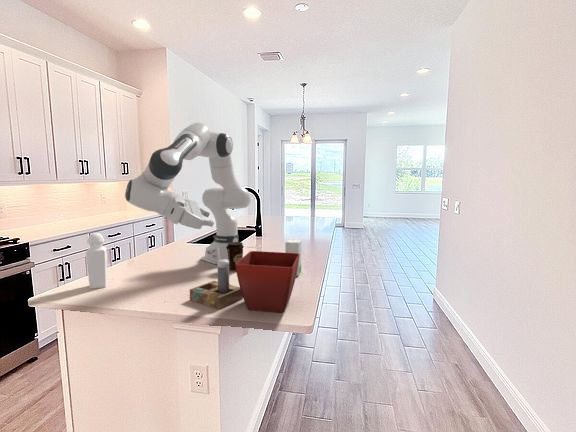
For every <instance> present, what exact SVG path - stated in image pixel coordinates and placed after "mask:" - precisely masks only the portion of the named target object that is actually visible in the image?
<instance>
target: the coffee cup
mask: <svg viewBox="0 0 576 432" xmlns="http://www.w3.org/2000/svg"><path fill="white" fill-rule="evenodd" d="M226 249H227V251H228V260H229V271H232V272H236V266H235V264H236V263H237V262H238V261H239V260H240V259H242V258H243V257H244V243H243V242H242V241H238V242H231V243H228V246H227V247H226Z"/></svg>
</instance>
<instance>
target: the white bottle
mask: <svg viewBox="0 0 576 432" xmlns="http://www.w3.org/2000/svg"><path fill="white" fill-rule="evenodd" d="M104 242H105V238H104V236H103V235H102V234H101V233H98V232H93V233H91V234H90V235H89V236H88V238H87V242H86V243H87V244H88V245H89V248H88V249H87V250H86V252H85V257H86V266H87V274H88V275H87V276H88V284H89V289H90V290H93V289H94V290H95V289H102V288H106V287H107V286H108V260H107V259H108V258H107V257H108V256H107V255H108V254H107V253H108V252H107V249H108V248H107V247H106V246H103V244H104Z"/></svg>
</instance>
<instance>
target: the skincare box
mask: <svg viewBox="0 0 576 432" xmlns="http://www.w3.org/2000/svg"><path fill="white" fill-rule="evenodd" d="M284 246H285V252H284V253H298V254H300V256H299V263H298V269H297V274H296V277H299V276H300V274H301V273H302V240H301V239H288V240H286V241H285V245H284Z"/></svg>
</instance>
